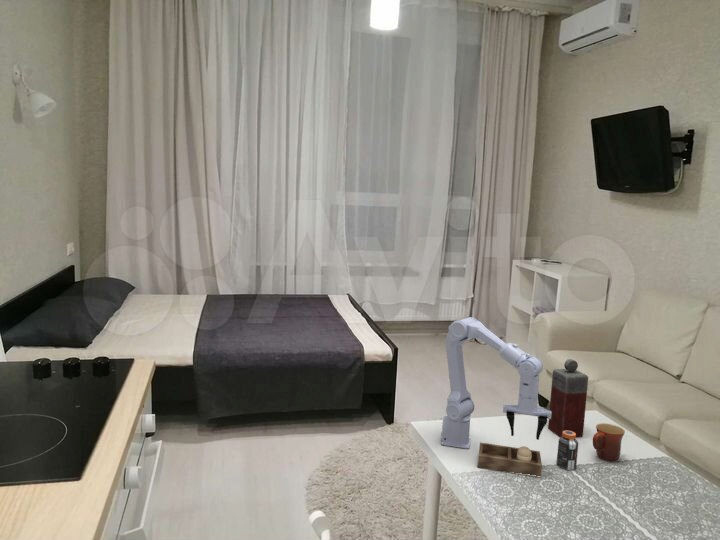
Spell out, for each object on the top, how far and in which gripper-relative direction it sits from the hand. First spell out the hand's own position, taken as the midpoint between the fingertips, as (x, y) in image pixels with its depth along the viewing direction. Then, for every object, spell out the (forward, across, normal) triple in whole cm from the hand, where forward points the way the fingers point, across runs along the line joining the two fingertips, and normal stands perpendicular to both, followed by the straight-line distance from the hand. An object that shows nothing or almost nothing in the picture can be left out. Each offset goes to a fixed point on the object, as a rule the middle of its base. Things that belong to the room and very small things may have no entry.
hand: (524, 436), depth 168 cm
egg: (+9, 0, +1) cm, 9 cm away
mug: (+10, -27, -15) cm, 32 cm away
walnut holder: (+10, +4, +1) cm, 11 cm away
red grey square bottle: (+10, -16, -34) cm, 39 cm away
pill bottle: (+10, -14, -5) cm, 18 cm away
